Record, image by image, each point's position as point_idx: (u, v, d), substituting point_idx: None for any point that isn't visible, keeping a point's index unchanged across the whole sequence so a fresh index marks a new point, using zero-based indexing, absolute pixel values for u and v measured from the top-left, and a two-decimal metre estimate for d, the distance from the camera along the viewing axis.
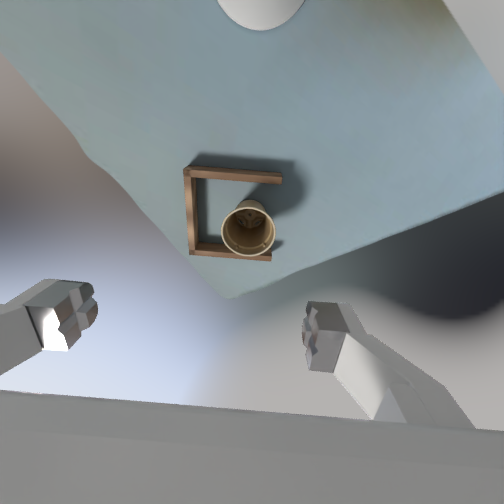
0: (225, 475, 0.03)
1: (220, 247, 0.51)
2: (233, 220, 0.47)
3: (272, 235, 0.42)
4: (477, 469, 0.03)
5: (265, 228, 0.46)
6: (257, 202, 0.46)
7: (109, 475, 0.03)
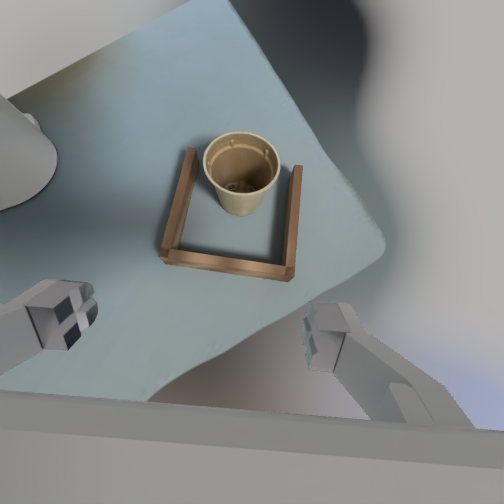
0: (225, 475, 0.03)
1: (285, 236, 0.34)
2: None
3: (249, 138, 0.31)
4: (477, 469, 0.03)
5: (251, 168, 0.35)
6: (222, 184, 0.37)
7: (109, 475, 0.03)
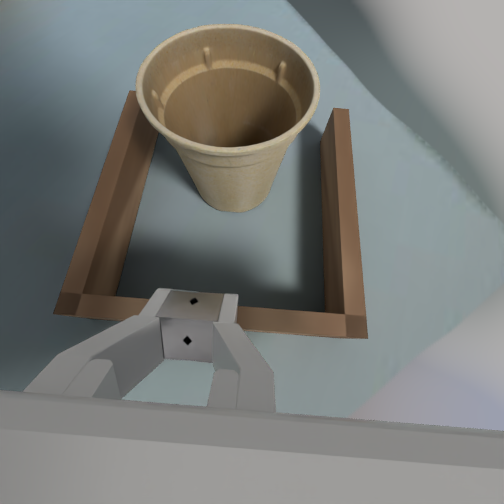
0: (225, 475, 0.03)
1: (330, 244, 0.17)
2: None
3: (243, 42, 0.14)
4: (477, 469, 0.03)
5: (252, 119, 0.18)
6: None
7: (109, 475, 0.03)
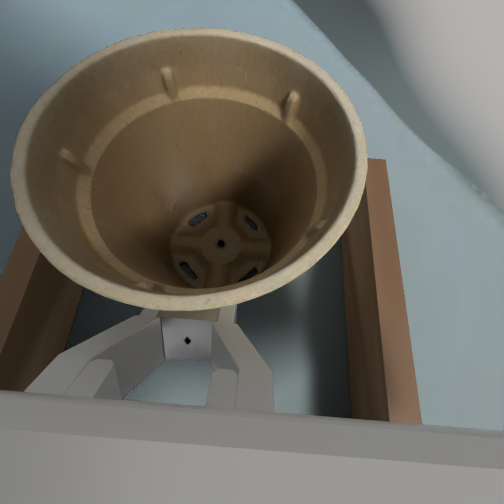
0: (225, 475, 0.03)
1: (363, 379, 0.11)
2: None
3: (228, 59, 0.09)
4: (477, 469, 0.03)
5: (246, 166, 0.12)
6: None
7: (109, 475, 0.03)
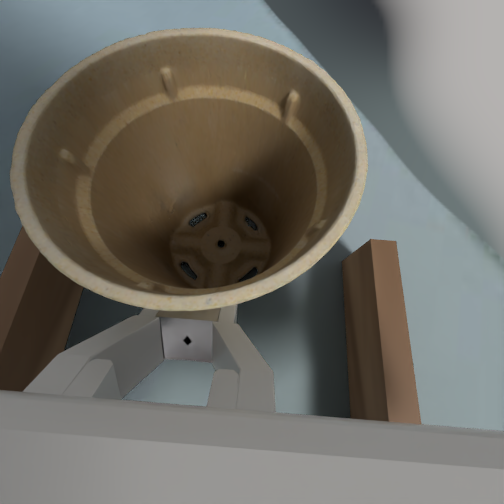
0: (225, 474, 0.03)
1: None
2: None
3: (228, 58, 0.09)
4: (477, 469, 0.03)
5: (245, 166, 0.12)
6: None
7: (109, 475, 0.03)
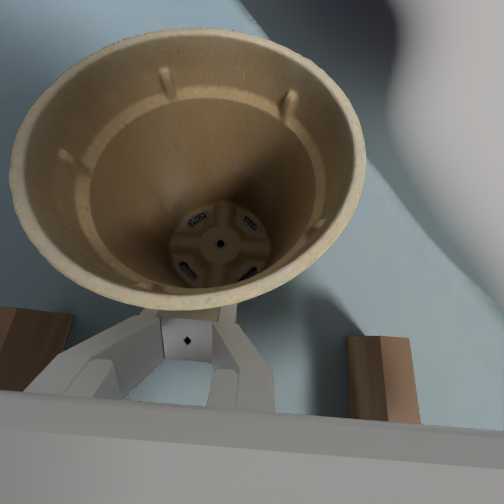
0: (225, 474, 0.03)
1: None
2: None
3: (226, 58, 0.09)
4: (477, 469, 0.03)
5: (244, 166, 0.12)
6: None
7: (109, 475, 0.03)
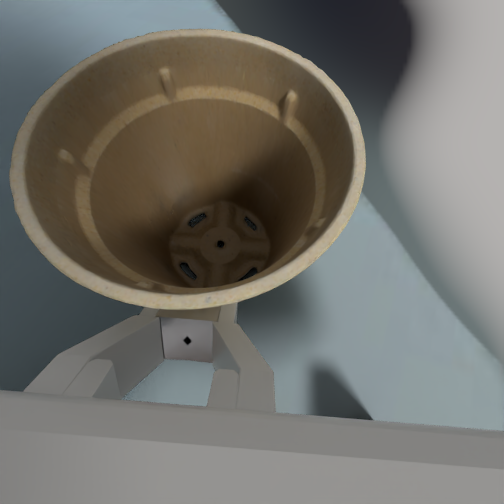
0: (225, 475, 0.03)
1: None
2: None
3: (226, 59, 0.09)
4: (477, 469, 0.03)
5: (244, 166, 0.12)
6: None
7: (109, 475, 0.03)
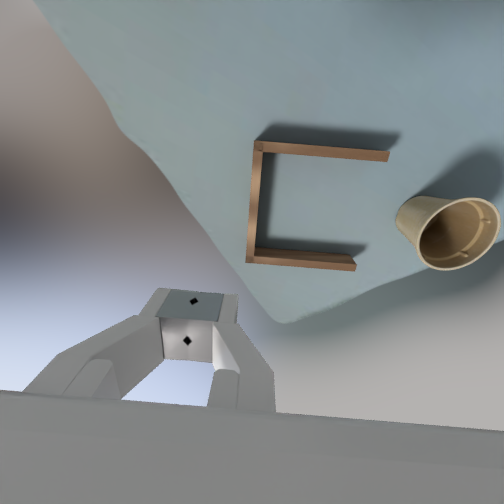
0: (225, 475, 0.03)
1: (284, 253, 0.38)
2: None
3: (486, 240, 0.30)
4: (477, 469, 0.03)
5: (450, 232, 0.34)
6: None
7: (109, 475, 0.03)
